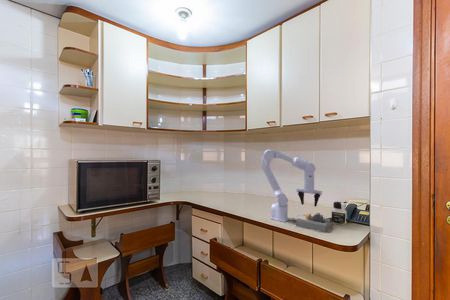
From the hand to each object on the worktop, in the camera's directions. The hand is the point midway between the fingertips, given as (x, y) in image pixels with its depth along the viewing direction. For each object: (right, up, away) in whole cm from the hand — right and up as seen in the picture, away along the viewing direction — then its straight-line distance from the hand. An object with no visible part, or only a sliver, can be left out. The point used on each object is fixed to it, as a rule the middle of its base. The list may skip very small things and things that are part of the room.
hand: (308, 205), depth 133 cm
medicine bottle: (+17, -10, -3) cm, 20 cm away
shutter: (-6, -6, -6) cm, 10 cm away
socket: (-1, -9, -9) cm, 13 cm away
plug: (+1, -9, -11) cm, 14 cm away
